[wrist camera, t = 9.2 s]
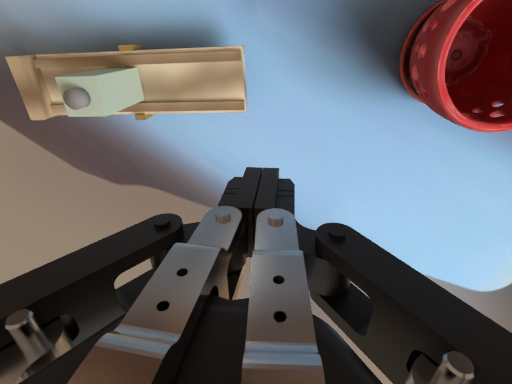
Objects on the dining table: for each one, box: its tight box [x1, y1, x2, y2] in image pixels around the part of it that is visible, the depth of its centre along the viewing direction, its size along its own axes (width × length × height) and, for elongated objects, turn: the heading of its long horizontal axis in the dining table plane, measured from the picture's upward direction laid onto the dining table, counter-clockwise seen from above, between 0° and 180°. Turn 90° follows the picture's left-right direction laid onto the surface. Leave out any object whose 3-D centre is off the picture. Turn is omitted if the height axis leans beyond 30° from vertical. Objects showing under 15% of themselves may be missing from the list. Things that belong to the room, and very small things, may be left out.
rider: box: [55, 67, 145, 117], centre depth 30 cm, size 4×4×9 cm
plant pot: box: [399, 0, 512, 132], centre depth 28 cm, size 13×13×12 cm
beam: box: [5, 44, 247, 120], centre depth 35 cm, size 8×26×8 cm, turn 92°
